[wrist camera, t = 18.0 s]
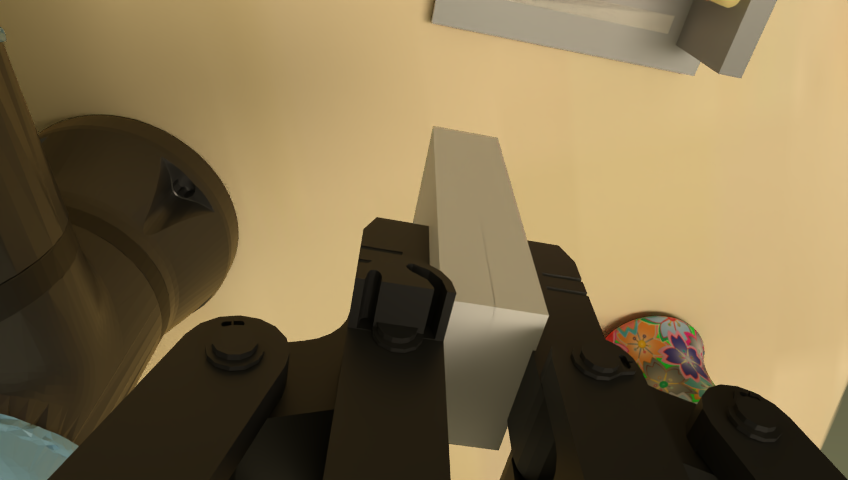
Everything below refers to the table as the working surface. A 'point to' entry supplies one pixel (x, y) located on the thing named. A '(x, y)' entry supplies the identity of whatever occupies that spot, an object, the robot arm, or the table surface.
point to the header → (624, 28)
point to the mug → (666, 354)
